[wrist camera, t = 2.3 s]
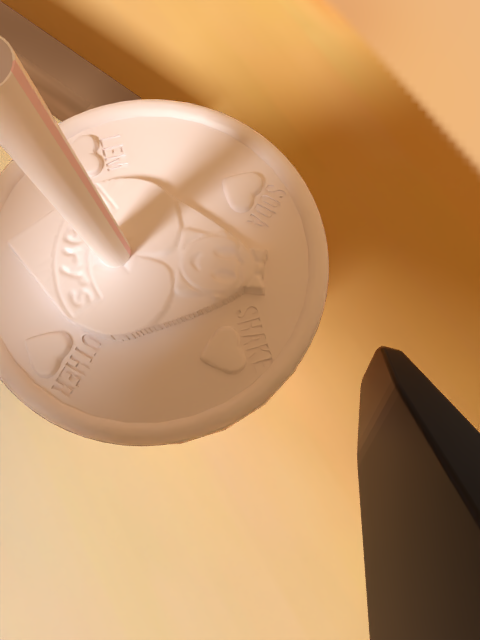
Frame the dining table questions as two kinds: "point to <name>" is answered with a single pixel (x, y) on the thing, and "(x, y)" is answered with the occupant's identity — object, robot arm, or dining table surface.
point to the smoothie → (150, 266)
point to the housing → (59, 69)
